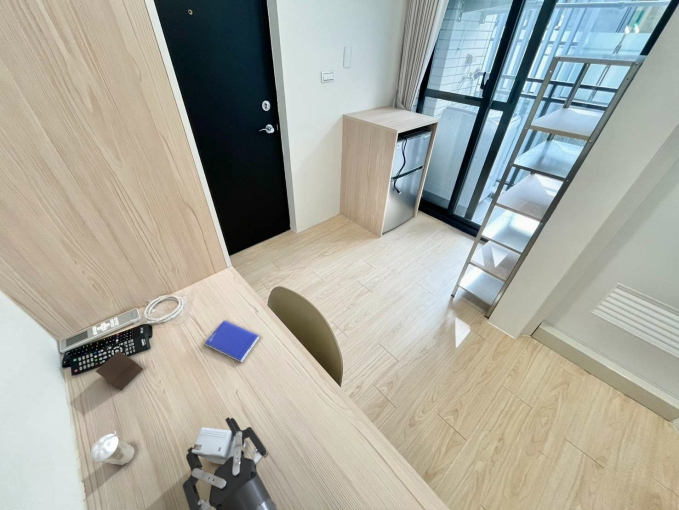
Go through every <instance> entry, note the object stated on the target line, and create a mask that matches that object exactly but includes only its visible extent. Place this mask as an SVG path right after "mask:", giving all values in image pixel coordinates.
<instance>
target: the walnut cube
mask: <svg viewBox="0 0 679 510" xmlns="http://www.w3.org/2000/svg"><path fill="white" fill-rule="evenodd" d="M143 370H144V368H143V367H142V366H141V365H140V364H138V363H137V362H136V361H135V360H133V359H132V358H131V357H129V356H127V355H126V354H125V353H123V352H122V351H120V350H118V351H117V352H115V353H114V354H112V356H111V357H110V358H109V359H107V360H106V361H105V362H104V363H102V365H101V366H99V367H98V368H97V369H96V370H95V373H97V374H98V375H99V376H100V377H102V378H104V380H106V381H107V382H109V383H110V384H112V385H113V386H115V387H116V388H117V389H119V390H121V391H122V390H123V389H125V388H126V387H127V386H128V385H129V384H130V383H131V382H132V381H133V380H134V379H135V378H136V377H137V376H138V375H139V374H140V373H141V372H142V371H143Z"/></svg>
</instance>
